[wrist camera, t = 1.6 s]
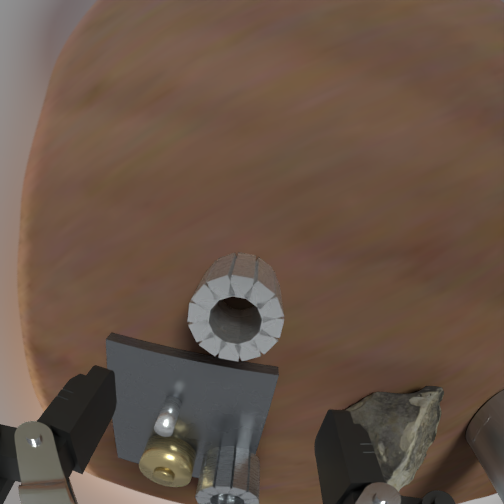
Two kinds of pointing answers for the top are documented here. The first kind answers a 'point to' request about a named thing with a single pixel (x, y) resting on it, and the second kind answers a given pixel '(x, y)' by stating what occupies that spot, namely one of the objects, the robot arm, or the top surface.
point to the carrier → (183, 406)
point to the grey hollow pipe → (229, 477)
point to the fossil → (400, 429)
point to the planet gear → (235, 320)
